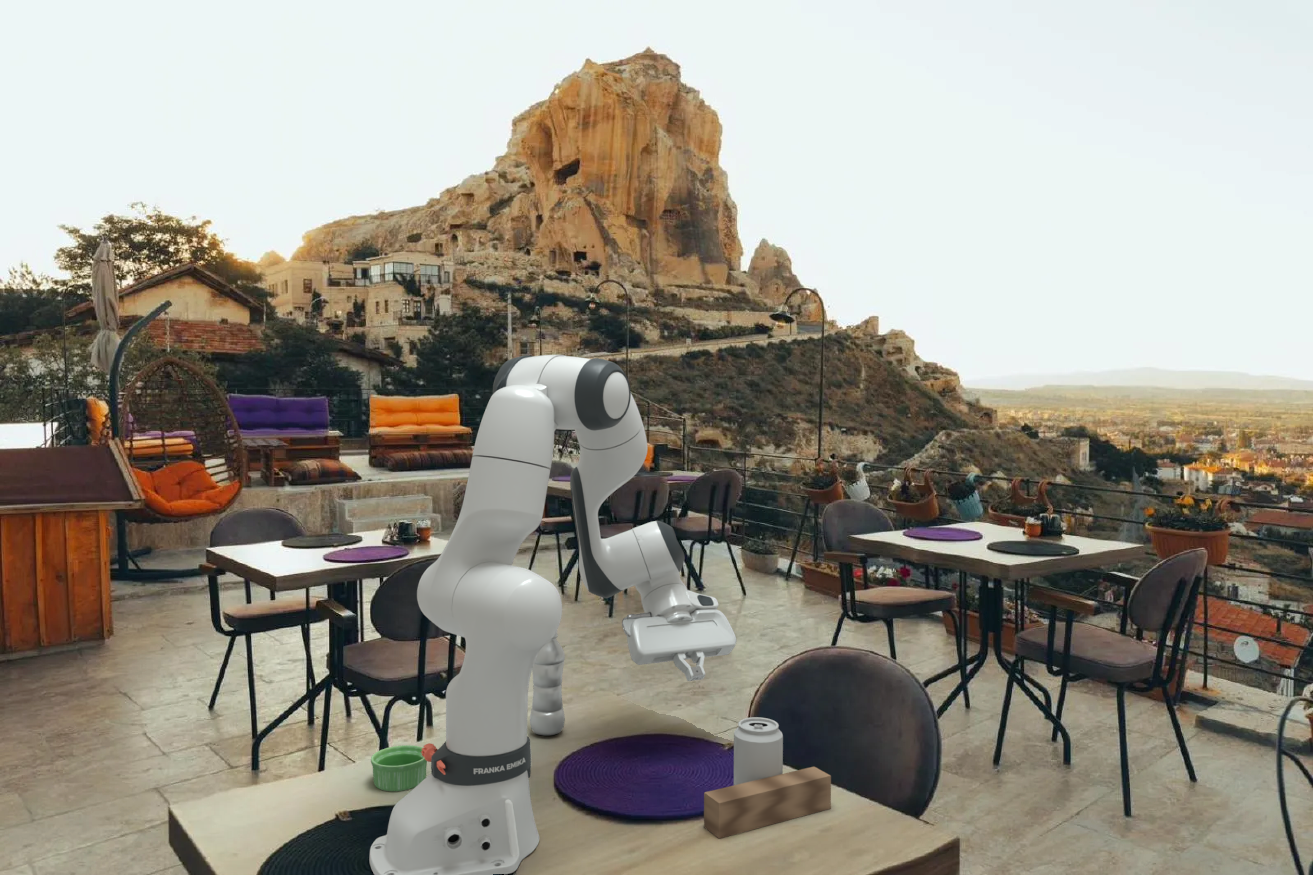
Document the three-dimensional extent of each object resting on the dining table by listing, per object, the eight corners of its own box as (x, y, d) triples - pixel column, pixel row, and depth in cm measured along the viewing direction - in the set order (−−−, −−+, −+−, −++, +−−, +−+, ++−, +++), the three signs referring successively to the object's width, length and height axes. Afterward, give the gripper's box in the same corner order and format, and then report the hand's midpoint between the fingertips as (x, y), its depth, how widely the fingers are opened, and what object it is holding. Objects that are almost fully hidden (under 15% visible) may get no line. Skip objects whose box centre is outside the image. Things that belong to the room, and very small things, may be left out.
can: (781, 791, 137) (782, 715, 137) (783, 812, 130) (783, 732, 130) (734, 788, 138) (734, 713, 138) (733, 809, 131) (733, 730, 130)
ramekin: (358, 789, 138) (358, 761, 138) (393, 768, 146) (393, 742, 146) (406, 797, 135) (406, 769, 135) (439, 775, 143) (439, 748, 143)
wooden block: (719, 838, 121) (719, 803, 121) (703, 827, 125) (704, 792, 125) (830, 808, 131) (830, 775, 131) (813, 798, 134) (814, 766, 134)
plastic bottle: (552, 724, 167) (552, 621, 167) (571, 734, 162) (571, 627, 162) (523, 732, 163) (523, 626, 163) (542, 742, 158) (542, 633, 157)
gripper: (624, 605, 151) (649, 675, 142) (723, 597, 160) (753, 662, 152) (612, 625, 154) (636, 695, 146) (710, 617, 164) (738, 681, 156)
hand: (696, 678), depth 149 cm, fingers closed
